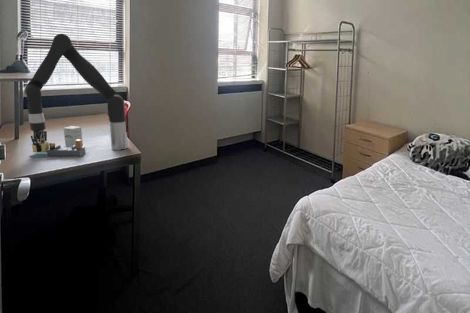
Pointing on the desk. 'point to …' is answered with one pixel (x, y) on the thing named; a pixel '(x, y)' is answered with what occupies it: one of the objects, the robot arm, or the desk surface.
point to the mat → (39, 154)
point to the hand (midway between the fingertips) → (41, 150)
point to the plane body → (66, 150)
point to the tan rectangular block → (43, 147)
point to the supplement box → (72, 135)
